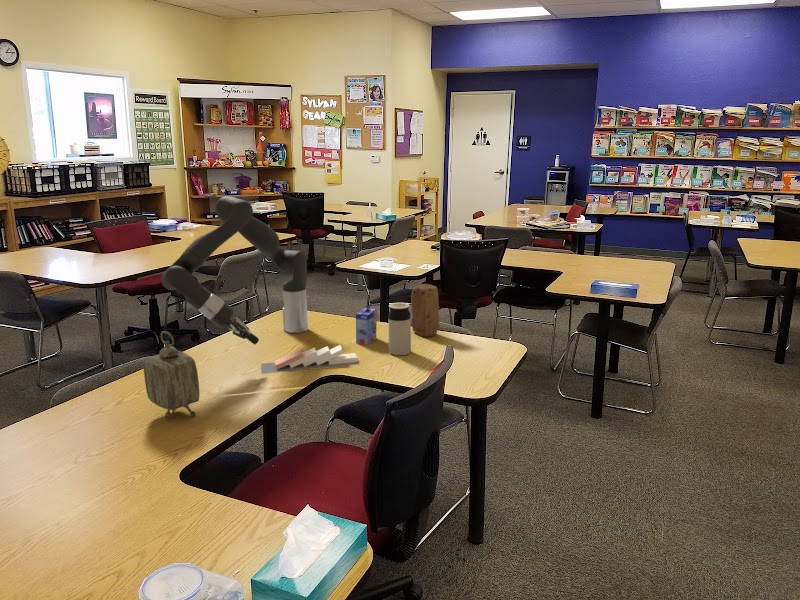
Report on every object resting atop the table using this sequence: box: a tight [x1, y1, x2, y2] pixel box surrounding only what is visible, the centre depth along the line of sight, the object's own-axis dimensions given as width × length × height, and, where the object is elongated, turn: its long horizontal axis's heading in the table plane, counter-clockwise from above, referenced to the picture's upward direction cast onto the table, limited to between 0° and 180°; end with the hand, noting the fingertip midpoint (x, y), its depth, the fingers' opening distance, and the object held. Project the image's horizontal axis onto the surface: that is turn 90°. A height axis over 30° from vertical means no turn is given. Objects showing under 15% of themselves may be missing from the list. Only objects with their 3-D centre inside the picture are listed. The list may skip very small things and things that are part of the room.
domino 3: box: [303, 345, 331, 367], centre depth 216 cm, size 2×5×10 cm
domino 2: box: [289, 347, 318, 368], centre depth 215 cm, size 2×5×10 cm
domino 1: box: [274, 348, 304, 370], centre depth 214 cm, size 2×5×10 cm
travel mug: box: [388, 302, 412, 356], centre depth 226 cm, size 8×8×18 cm
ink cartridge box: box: [355, 304, 378, 345], centre depth 240 cm, size 10×6×14 cm, turn 163°
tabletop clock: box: [143, 330, 200, 419], centre depth 176 cm, size 14×9×25 cm, turn 48°
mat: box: [260, 361, 360, 375], centre depth 216 cm, size 33×10×1 cm, turn 103°
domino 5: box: [328, 352, 359, 365], centre depth 219 cm, size 2×5×10 cm
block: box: [410, 283, 440, 338], centre depth 247 cm, size 11×8×20 cm
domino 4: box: [316, 344, 345, 365], centre depth 217 cm, size 2×5×10 cm
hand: (257, 341), depth 210 cm, fingers closed
